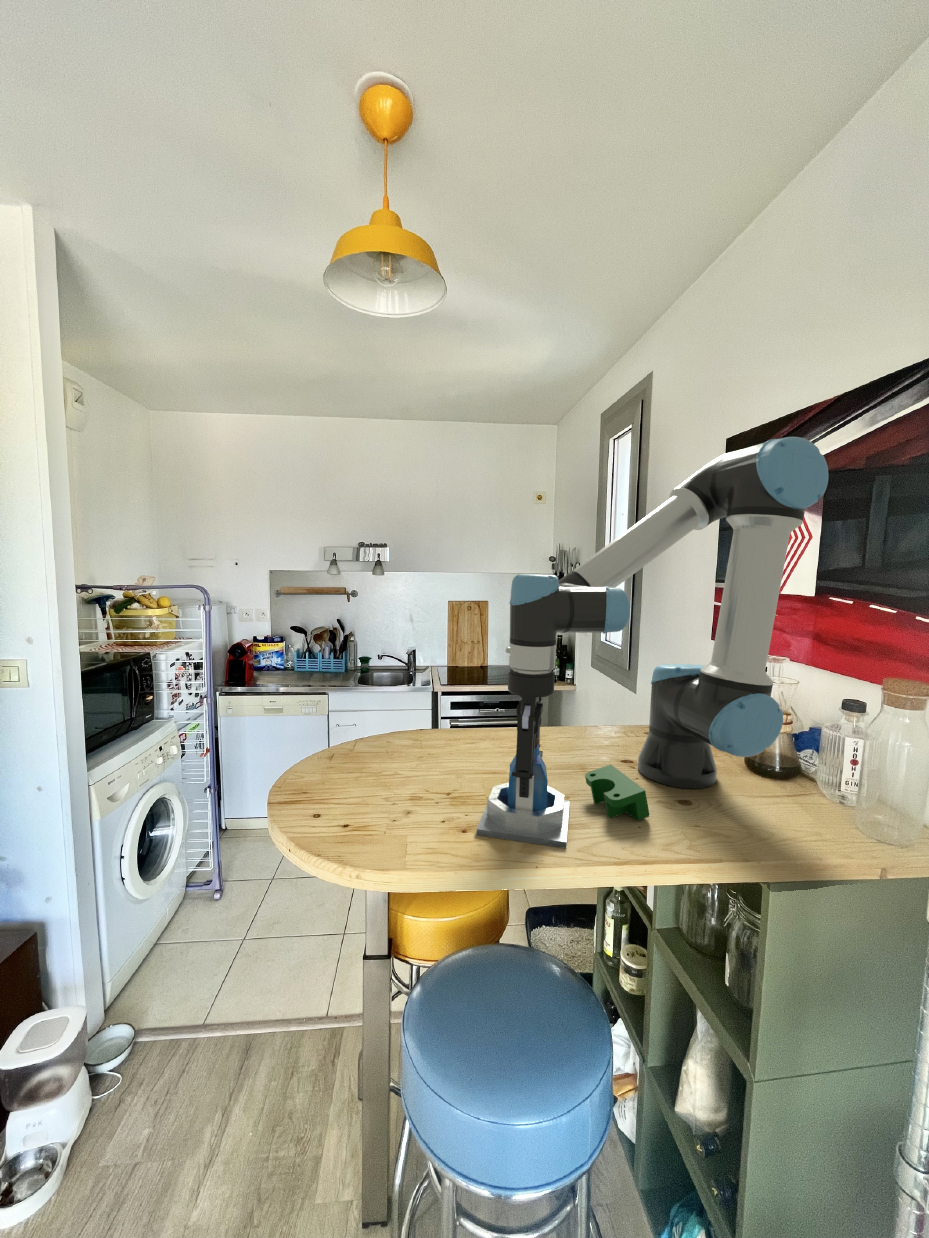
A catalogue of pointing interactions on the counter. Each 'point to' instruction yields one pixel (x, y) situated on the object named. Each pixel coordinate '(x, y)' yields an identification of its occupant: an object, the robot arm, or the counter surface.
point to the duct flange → (526, 819)
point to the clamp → (617, 793)
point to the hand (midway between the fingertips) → (526, 802)
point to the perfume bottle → (539, 782)
